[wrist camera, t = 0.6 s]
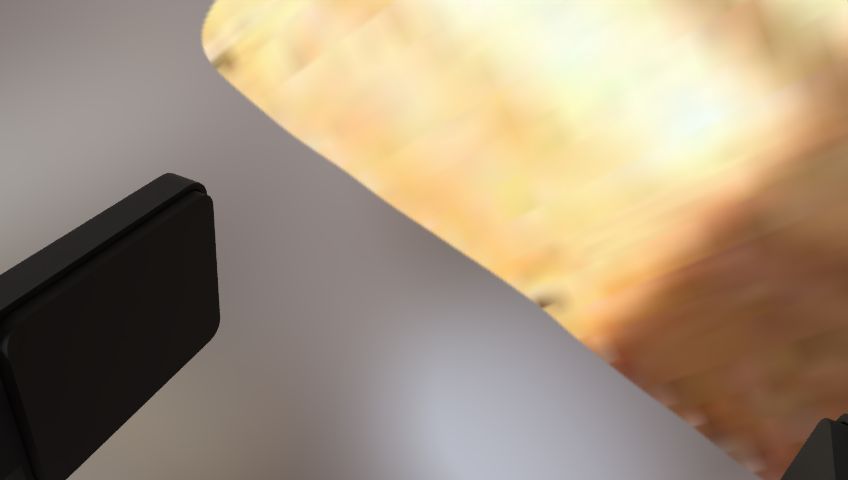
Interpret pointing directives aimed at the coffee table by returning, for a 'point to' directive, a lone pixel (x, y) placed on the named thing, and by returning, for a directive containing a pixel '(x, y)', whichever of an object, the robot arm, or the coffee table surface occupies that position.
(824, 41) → the coffee table surface
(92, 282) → the robot arm
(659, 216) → the coffee table surface
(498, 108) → the coffee table surface
